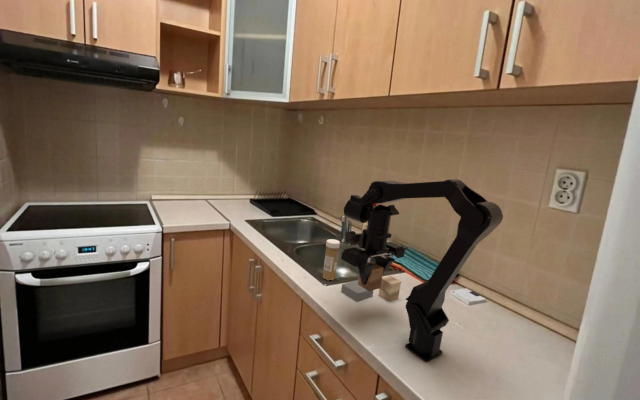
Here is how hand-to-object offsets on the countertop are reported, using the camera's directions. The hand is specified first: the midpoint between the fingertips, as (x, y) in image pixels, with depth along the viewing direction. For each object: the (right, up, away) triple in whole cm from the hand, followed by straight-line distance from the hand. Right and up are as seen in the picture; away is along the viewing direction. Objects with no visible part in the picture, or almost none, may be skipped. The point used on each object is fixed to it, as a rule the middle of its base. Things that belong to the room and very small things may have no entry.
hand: (369, 282), depth 93 cm
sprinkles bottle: (-10, -4, +24) cm, 27 cm away
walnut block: (0, -1, 0) cm, 1 cm away
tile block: (-2, -7, +15) cm, 17 cm away
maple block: (+8, -8, +15) cm, 19 cm away
